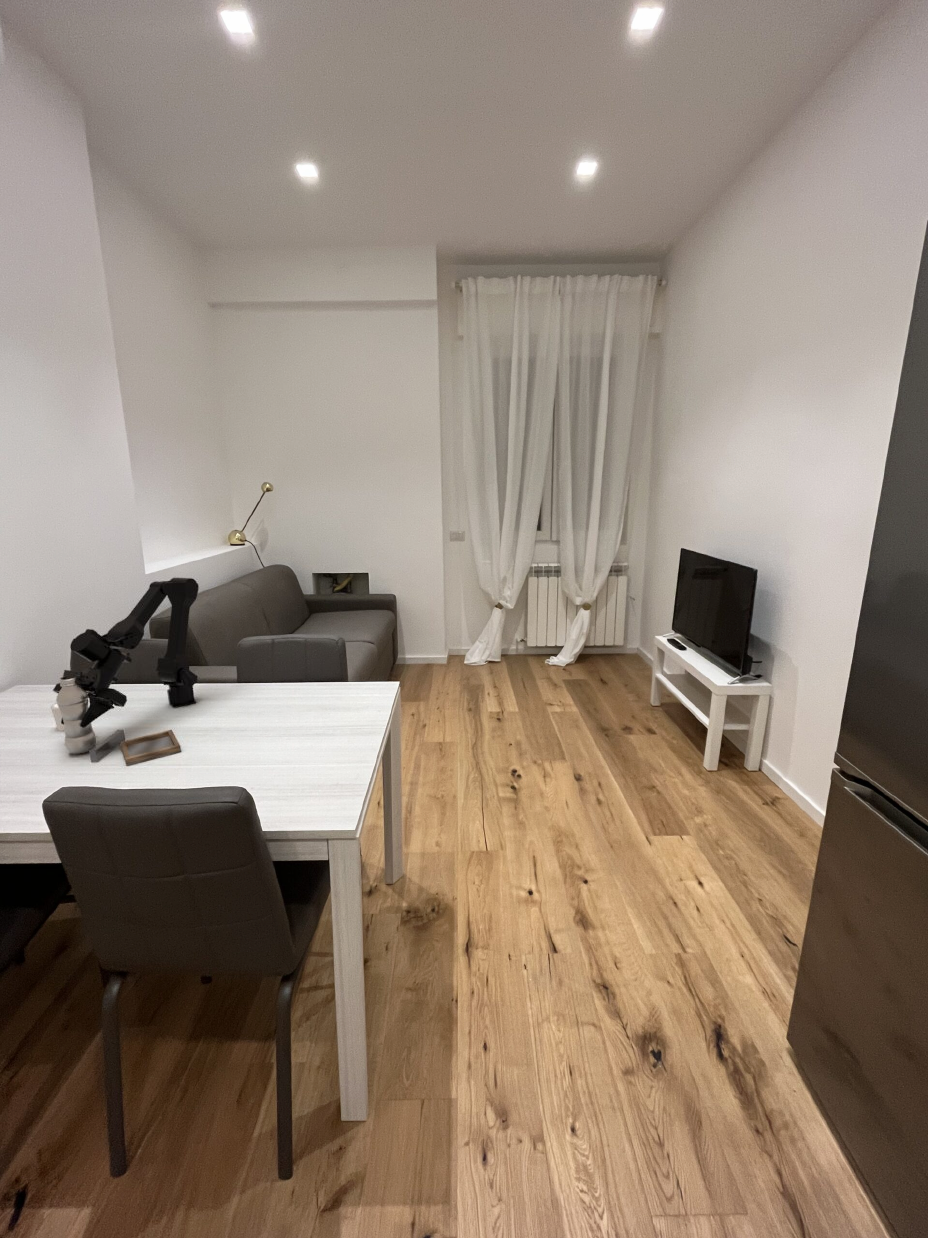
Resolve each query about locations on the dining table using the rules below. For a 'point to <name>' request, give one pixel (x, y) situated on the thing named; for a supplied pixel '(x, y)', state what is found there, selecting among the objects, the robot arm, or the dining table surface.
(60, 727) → the white tapered cup
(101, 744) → the bar
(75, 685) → the plastic bottle
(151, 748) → the wooden tray
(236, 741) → the dining table surface
